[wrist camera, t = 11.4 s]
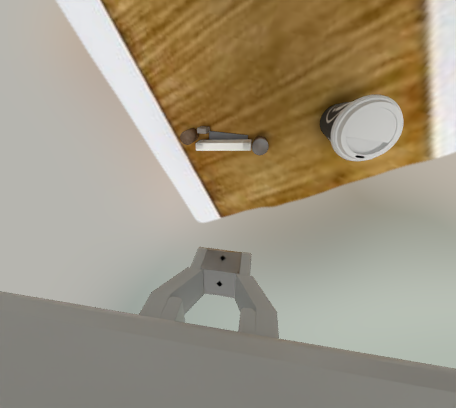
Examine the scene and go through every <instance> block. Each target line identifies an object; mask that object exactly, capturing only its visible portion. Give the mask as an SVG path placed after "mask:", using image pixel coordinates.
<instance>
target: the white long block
mask: <svg viewBox="0 0 456 408" xmlns="http://www.w3.org/2000/svg"><path fill="white" fill-rule="evenodd" d="M196 151H251V139H236V140H199V141H198V142H197V143H196Z"/></svg>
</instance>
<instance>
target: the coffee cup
mask: <svg viewBox="0 0 456 408" xmlns="http://www.w3.org/2000/svg"><path fill="white" fill-rule="evenodd" d="M320 128H321V131H322V132H323V134H324V135H325V136H326V137H327V138H328V139H329V140H330V141H331V144H332V147H333V149H334V151H335V152H336V153H337V154H338V155H339V156H340V157H342V158H344V159H346V160H350V161H365V160H369V159H372V158H375V157H377V156H380V155H382V154H383V153H385V152H386V151H388V150H389V149H390V148H391V147H392V146H393V145H394V144H395V143H396V141H397V140H398V138H399V137H400V135H401V132H402V129H403V115H402V112H401V109H400V107H399V106H398V104H397V103H396V102H395V101H393V100H392V99H391V98H389V97H387V96H384V95H367V96H364V97H361V98H359V99H356V100H355V101H353V102H347V103H341V104H336V105H333V106H331V107H329V108H328V109H327V110H326V111H325V112H324V113H323V115H322V117H321V120H320Z"/></svg>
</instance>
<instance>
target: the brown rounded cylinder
mask: <svg viewBox="0 0 456 408" xmlns="http://www.w3.org/2000/svg"><path fill="white" fill-rule="evenodd" d="M209 131H210V127H206V126H200V127H198V128H197V130H196V129H194V128H191V129H189V130H186V131H184V132H182V133H181V136H180V139H181V141H182V143H184V144H186V145H189V144H191V143H192V142H194V141H195V140H197V139H198V137H199V133H201V134H207V133H208V132H209Z"/></svg>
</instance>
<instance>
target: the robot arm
mask: <svg viewBox="0 0 456 408" xmlns="http://www.w3.org/2000/svg"><path fill="white" fill-rule="evenodd" d="M250 269H251V253H245V252H234V251H227V250H219V249H212V248H204V247H199V248H198V250H197V252H196V255H195V257H194V260H193V262H192V264H191V267H190V268H189V267H187V268H186V269H185V270H183V271H182V272H180V273H179V274H177V275H176V276H174V277H173V278H172V279H170V280H169V281H167V282H166V283H164V284H163V285H161V286H160V287H159V288H157V289H155V290H154V291H153V292H151V294H150V296H149V298H148V299H147V301H146V303H145V305H144V307H143V309H142V310H141V312H140V313H139V315H137V314H131V313H125V312H119V311H113V310H107V309H101V308H96V307H90V306H84V305H78V304H72V303H66V302H60V301H54V300H49V299H42V298H37V297H30V296H25V295H19V294H13V293H7V292H1V291H0V408H456V369H455V368H448V367H442V366H437V365H431V364H425V363H419V362H412V361H407V360H402V359H396V358H390V357H384V356H378V355H372V354H366V353H360V352H354V351H349V350H343V349H337V348H331V347H324V346H319V345H313V344H308V343H302V342H296V341H290V340H284V339H279V335H278V321H277V311H276V310H275V309H274V307H273V306H272V304H271V303H270V301H269V300H268V298H267V297H266V295H265V294H264V293H263V291H262V289H261V288H260V286H259V285H258V283H257V282H256V280H255V279H254V277H252V276H250ZM204 293H205V294H213V295H221V296H226V297H232V298H235V301H236V303H237V305H238V308H239V310H240V321H239V331H238V332H236V331H230V330H224V329H218V328H213V327H207V326H201V325H195V324H189V323H185V318H184V315H185V313H186V312H187V311H188V310H189V309H190V308H191V307H192V306H193V305H194V304H195V303H196V302H197V301H198V300H199V299H200V298H201V297H202V296H203V295H204Z"/></svg>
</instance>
